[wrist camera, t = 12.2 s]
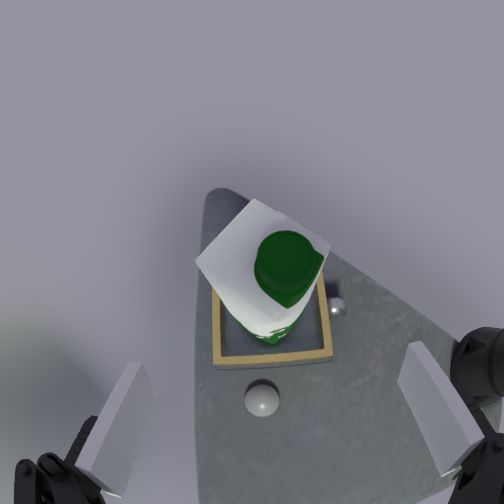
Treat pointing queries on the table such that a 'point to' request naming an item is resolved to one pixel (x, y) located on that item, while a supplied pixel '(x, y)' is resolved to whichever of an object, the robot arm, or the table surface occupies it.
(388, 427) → the table surface
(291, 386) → the table surface
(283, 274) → the soya milk
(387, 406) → the table surface
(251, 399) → the grey round lid
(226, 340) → the wooden rimmed tray
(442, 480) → the table surface
